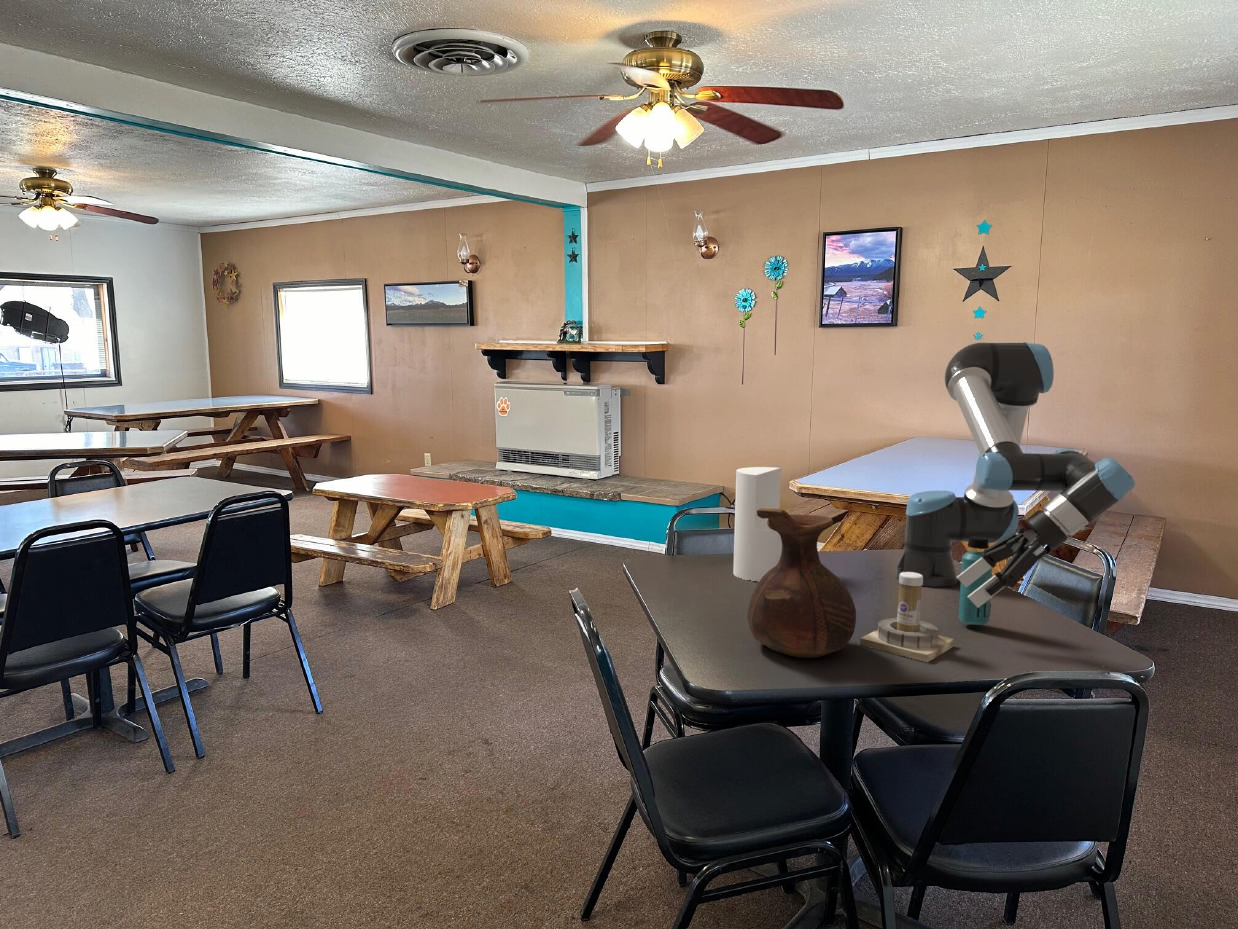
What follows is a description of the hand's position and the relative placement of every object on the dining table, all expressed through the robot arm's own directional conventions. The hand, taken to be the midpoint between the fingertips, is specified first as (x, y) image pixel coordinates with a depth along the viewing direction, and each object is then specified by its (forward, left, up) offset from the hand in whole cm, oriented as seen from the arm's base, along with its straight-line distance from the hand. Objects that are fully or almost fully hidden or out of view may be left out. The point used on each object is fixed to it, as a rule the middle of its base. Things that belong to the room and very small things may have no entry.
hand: (966, 592), depth 168 cm
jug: (+23, -24, -12) cm, 35 cm away
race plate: (+6, -9, -12) cm, 16 cm away
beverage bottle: (-16, -4, -12) cm, 21 cm away
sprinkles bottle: (+6, -9, -11) cm, 15 cm away
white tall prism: (-21, -61, -12) cm, 66 cm away
